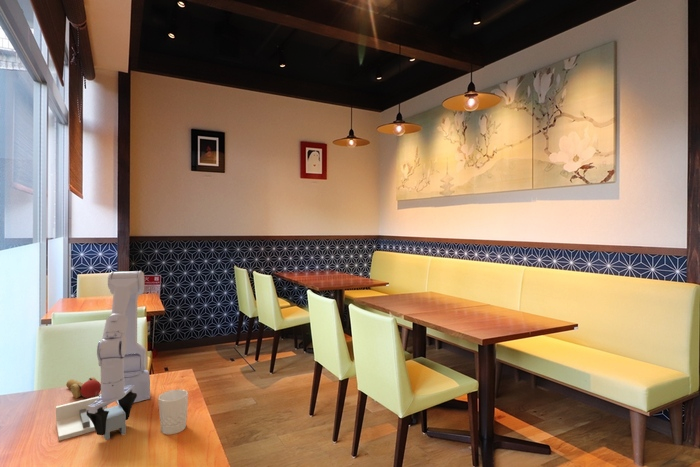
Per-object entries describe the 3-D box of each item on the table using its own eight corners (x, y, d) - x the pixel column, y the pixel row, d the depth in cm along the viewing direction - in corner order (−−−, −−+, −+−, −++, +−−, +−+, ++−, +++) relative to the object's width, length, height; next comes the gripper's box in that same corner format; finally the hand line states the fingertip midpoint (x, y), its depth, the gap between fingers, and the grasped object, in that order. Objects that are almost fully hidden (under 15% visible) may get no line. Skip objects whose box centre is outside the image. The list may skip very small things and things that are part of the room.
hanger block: (120, 424, 119) (119, 404, 119) (126, 434, 114) (125, 413, 114) (100, 430, 116) (100, 410, 115) (105, 440, 110) (105, 419, 110)
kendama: (56, 396, 141) (81, 401, 132) (58, 377, 142) (83, 381, 133) (80, 392, 148) (105, 397, 138) (82, 374, 149) (107, 377, 139)
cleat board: (106, 410, 128) (106, 394, 127) (113, 425, 118) (112, 408, 118) (56, 423, 119) (55, 406, 119) (58, 440, 110) (58, 422, 110)
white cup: (194, 424, 119) (193, 391, 119) (174, 438, 112) (174, 402, 111) (173, 420, 122) (172, 387, 121) (152, 433, 114) (152, 398, 114)
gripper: (120, 369, 122) (121, 413, 123) (78, 388, 108) (79, 438, 108) (140, 371, 121) (140, 415, 121) (100, 391, 107) (101, 441, 107)
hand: (113, 426), depth 115 cm, fingers closed on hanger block, 7 cm apart
